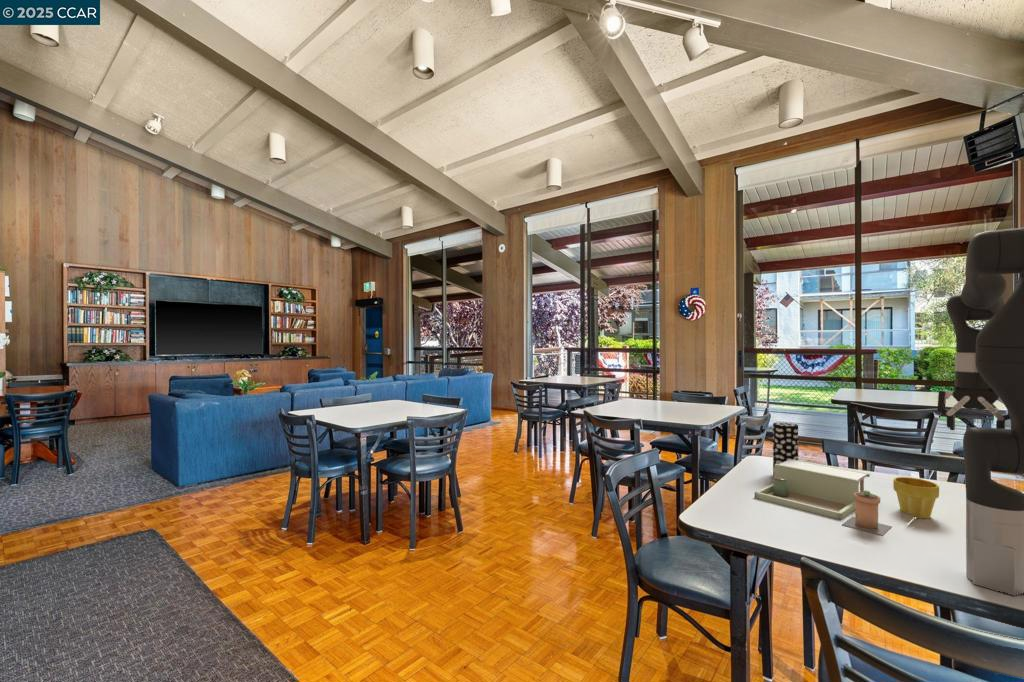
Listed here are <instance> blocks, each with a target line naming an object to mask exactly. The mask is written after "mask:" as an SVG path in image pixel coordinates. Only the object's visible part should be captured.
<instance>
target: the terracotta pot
mask: <svg viewBox="0 0 1024 682" xmlns="http://www.w3.org/2000/svg"><path fill="white" fill-rule="evenodd" d="M854 499H855V500H856V507H855V510H854V511H855V515H854V517H855V524H856V525H858V526H860V527H863V528H868V529H877V528H878V523H879V504H881V497H880V496H879V495H876V494H873V493H871V491H869V490H866V489H864V492H860V491H859V492H855V493H854Z"/></svg>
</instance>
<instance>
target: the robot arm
mask: <svg viewBox="0 0 1024 682" xmlns="http://www.w3.org/2000/svg"><path fill="white" fill-rule="evenodd" d="M969 240H970V241H969V243H968V245H967V246H968V247H967V249H966V250H967V251H966V256H965V257H966V258H965V269H964V270H965V271H964V272H965V273H964V275H965V281H964V285H963V287H962V290H961V292H960V293H958V294H954V295H952V296H951V297H949V299H948V300H947V302H946V311H947V315H948V316H949V318H950V322H951V323H952V326H953V330H954V333H955V334H954V335H955V342H956V343H955V352H956V353H955V358H954V390H953V391H947V390H945V389H942V390H940V391H938V397H937V412H938V413H939V414H943V415H945V416H946V427H947V429H948V428H949V430H950V431H955V430H956V416H955V414H956V413H957V412H958V411H959V410H961V409H962V407H963V408H964V409H966V410H973V409H975V410H980V411H984V410H988V411H989V413H991V414H992V415H993V416H994V417H995V418H996V424H995V426H996V427H994V428H993V427H980V426H972V427H968V428H967V429H966V430H965V432H964V434H963V436H962V437H963V438H962V450H963V451H962V452H963V460H964V461H963V462H964V485H965V508H966V509H965V539H966V541H965V544H966V545H965V553H966V555H965V561H966V562H965V566H966V567H965V569H966V572H965V575H966V577H967V578H968V579H969V580H970V581H971V580H972V581H971V582H972V584H973V585H976V586H980V587H982V588H986V589H990V590H992V591H996V592H997V591H998V592H999V591H1000V593H1003V592H1005V593H1004V594H1006V593H1008V594H1007V595H1010V594H1012V595H1011V596H1013V595H1016V596H1017V595H1024V594H1023V593H1024V493H1023V492H1022V491H1020V490H1018V489H1016V488H1012V487H1010V486H1007V485H1004V484H1001V483H999V482H997V481H995V480H994V479H992V477H991V475H990V472H993V473H994V472H995V473H1005V474H1016V475H1024V227H1017V228H1006V229H995V230H987V231H983V232H978V233H975V234H974V235H973V236H972V238H971V239H969ZM1011 274H1013V275H1014V274H1018V279H1017V282H1016V286H1015V287H1014V290H1012V291H1013V292H1012V294H1011V295H1010V296H1009V298H1008V299H1007V300H1006V301H1004V298H1003V297H1002V296H1003V294H1004V293H1005V291H1006V289H1007V282H1006V279H1005V277H1004V276H1003V275H1011ZM966 321H987V322H986V323H985V325H984V326H983V327H981V329H980V328H974V327H971V326H970V325H969V324H968V323H967V322H966ZM951 396H952V397H953V398H954V399H955V401H957V402H956V403H955V404H954V405H953V406H952V407H951V408H950V409H947V408H946V405H947V404H946V402H947V400H948V399H950V397H951ZM998 400H1000V401H1001V402H1002V403H1003V405H1004V407H1005V408H1006V410H1007V414H1004V413H1002V412H1001V410H1000V409H999V408H998V407H997V406H996V405H994V403H995V402H997V401H998ZM1009 420H1010V428H1006V421H1009ZM1017 593H1018V594H1017ZM1021 593H1022V594H1021Z"/></svg>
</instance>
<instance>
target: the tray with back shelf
mask: <svg viewBox="0 0 1024 682" xmlns="http://www.w3.org/2000/svg"><path fill="white" fill-rule="evenodd" d="M774 477H780V478H786V479H788V480H789V496H788V497H782V496H777V495H774V494H773V483H772V484H769V485H768V486H765V487H763V488H761V489H759V490H756V491H754V498H755V499H759V500H762V501H766V502H771V503H774V504H778V505H782V506H786V507H790V508H794V509H798V510H802V511H805V512H810V513H814V514H818V515H821V516H825V517H827V518H828V517H830V518H833V519H836V520H843V519H844V518H846V517H847V516H848V515H850V514H851V513H852V512H854V511H855V507H856V500H855V499H854V493H855V492H864V491H865V482H864V481H865V479H866V478H870V477H871V473H869V472H863V471H859V470H853V469H847V468H841V467H836V466H832V465H824V464H819V463H815V462H810V461H803V460H799V459H798V460H793V459H788V461H785V462H783V463H780V464H775V467H774V476H773V478H774Z"/></svg>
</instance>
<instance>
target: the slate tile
mask: <svg viewBox="0 0 1024 682" xmlns="http://www.w3.org/2000/svg"><path fill="white" fill-rule="evenodd" d="M841 526H843V527H847V528H851V529H854V530H858V531H861V532H866V533H869V534H872V535H873V534H874V535H877V536H881V537H883V536H884V535H885V534H886V533H887V532H888V531H889V530H891V529H892V527H893V526H891V525H888V524H883V523H879V522H878V528H877V529H868V528H863V527H860V526H858V525H856V524H855V516H851V517H850V518H848V519H847V520H846V521H844V523H842V524H841Z"/></svg>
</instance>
